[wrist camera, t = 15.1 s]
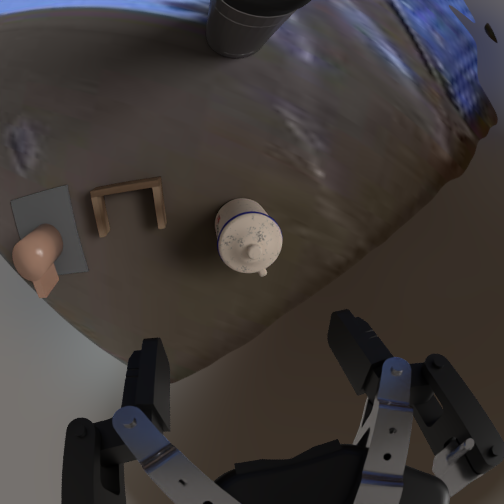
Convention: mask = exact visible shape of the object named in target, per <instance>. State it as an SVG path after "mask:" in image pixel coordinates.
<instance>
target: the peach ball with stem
mask: <svg viewBox="0 0 504 504" xmlns="http://www.w3.org/2000/svg"><path fill="white" fill-rule="evenodd" d="M62 251H63V240H62V237H61V235H60V233H59V231H58V230H57V229H56V228H55V227H54V226H52V225H50V224H41V225H39V226H38V227H37V228H35V229H34V230H33V231H32V232H30V233H29V234H28V235H27V236H25V237H24V238H23V239H22V240H21V241H19V242H18V243H17V244H16V245H15V247H14V249H13V253H12V257H13V262H14V265H15V267H16V269H17V271H18V272H19V274H20V275H21V276H22V277H24V278H25V279H27V280H29V281H33V284H34V286H35V289H36V291H37V294H38V296H39V298H47V296H48V295H49V293H50V292H51V290H52V289H53V288H54V286H55V285H56V283H57V282H58V280H59V277H58V275H57V272H56V269H55V266H54V262H55V261H56V259H57V258H58V257H59V256H60V255H61V253H62Z"/></svg>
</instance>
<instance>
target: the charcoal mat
mask: <svg viewBox="0 0 504 504" xmlns="http://www.w3.org/2000/svg"><path fill="white" fill-rule="evenodd" d="M11 205H12V210H13V214H14V218H15V222H16V226H17V229H18V233H19V236H20V240H22V239H23V238H24V237H25V236H27V235H28V234H29V233H30V232H32V231H33V230H34V229H35V228H37V227H38V226H39V225H41V224H50V225H52V226H54V227H55V228H56V229H57V230H58V231H59V233H60V235H61V237H62V240H63V251H62V253H61V255H60V256H59V257H58V258H57V259H56V261H55V262H54V266H55V269H56V272H57V275H62V274H71V273H79V272H87V271H89V270H88V266H87V263H86V260H85V257H84V253H83V250H82V246H81V243H80V239H79V235H78V232H77V228H76V223H75V219H74V215H73V210H72V206H71V201H70V196H69V191H68V185H64V186H60V187H56V188H53V189H49V190H45V191H42V192H38V193H35V194H31V195H28V196H25V197H22V198H18V199H15V200H12V201H11Z"/></svg>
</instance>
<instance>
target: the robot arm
mask: <svg viewBox="0 0 504 504" xmlns="http://www.w3.org/2000/svg"><path fill="white" fill-rule="evenodd" d="M310 1H311V0H210V6H209V12H208V19H207V26H206V39H207V42H208V44H209V46H210V47H211V48H212V49H213V50H214V51H215V52H217V53H218V54H220V55H223V56H225V57H229V58H244V57H247V56H250V55H252V54H254V53H256V52H257V51H258V50H259V49H260V48H261V47H262V46H263V45H264V44H265V43H266V42H267V41H268V39H269V38H270V37H271V36H272V35H273V34H274V33H275V32H276V31H277V30H278V29H279V27H280V26H281V25H282V24H283V23H284V22H285V21H286V20H287V19H288V18H289V17H290V16H291V15H292V14H293V13H294V12H295V11H296V10H297V9H299V8H301V7H303V6H304V5H306V4H307V3H308V2H310ZM328 343H329V346H330V348H331V349H332V352H333V353H334V355H335V357H336V359H337V360H338V362H339V364H340V366H341V367H342V369H343V371H344V373H345V374H346V376H347V378H348V380H349V381H350V383H351V384H352V387H353V388H354V390H355V392H356V394H357V395H361V394H364V393H366V394H367V396H368V397H367V400H366V403H365V408H364V412H363V416H362V419H361V423H360V427H359V430H358V433H357V435H356V438H355V440H354V442H353V444H340V443H339V441H338V439H336V440H334V441H331V442H327V443H324V444H322V445H318V446H315V447H313V448H311V449H309V450H307V451H305V452H303V453H301V454H300V455H298V456H296V457H294V458H292V459H285V460H267V459H266V460H265V459H262V460H261V459H260V460H255V461H249V462H243V463H235V469H233V470H230V471H228V472H226V473H224V474H223V475H221V476H220V477H218V478H217V479H216V480H215V481H214V482H213V481H212V480H211V479H209V478H208V477H207V476H206V475H205V474H204V473H202V472H201V471H200V470H199V469H198V468H197V467H196V466H195V465H194V464H192V463H191V462H190V461H189V460H188V459H187V458H186V457H185V456H184V455H183V454H182V453H181V452H180V451H179V450H178V449H177V448H176V447H175V446H173V445H172V444H171V443H170V442H169V441H168V440H167V439H166V438H165V437H164V436H163V432H164V431H170V366H169V361H168V358H167V355H166V353H165V350H164V347H163V344H162V341H161V339H160V338H148V339H144V340H143V344H142V350H138V351H134V352H133V354H132V355H131V357H130V358H129V361H128V366H127V373H126V379H125V386H124V392H123V400H122V406H121V408H120V409H119V410H117V411H116V412H115V414H114V416H113V417H112V418H111V419H108V420H104V421H100V422H96V423H92V422H91V421H90V420H88V419H86V418H77V419H74V420H73V421H71V422H70V423H69V425H68V427H67V431H66V438H65V448H64V456H63V470H62V504H126V497H125V486H124V485H125V484H124V466H123V465H124V463H125V462H129V461H133V460H138V461H139V462H140V463H141V465H142V467H143V469H144V470H145V471H146V473H147V474H148V475H149V476H150V477H151V479H152V480H153V481H154V482H155V483H156V484H157V485H158V486H159V487H160V489H161V490H162V491H163V492H164V493H165V494H166V495H167V496H168V497H169V498H170V499H171V500H172V501H173V502H174V503H175V504H449V499H450V497H451V496H453V495H454V494H455V493H457V492H458V491H460V490H461V489H462V488H464V487H465V486H466V485H468V484H469V483H470V482H472V481H474V480H475V479H477V478H478V477H480V476H482V475H483V474H485V473H486V472H488V471H489V470H491V469H492V468H494V467H495V466H497V465H498V464H499V463H501V462H502V460H503V458H504V442H503V440H502V438H501V437H500V435H499V433H498V432H497V430H496V428H495V427H494V425H493V424H492V422H491V420H490V419H489V417H488V416H487V414H486V413H485V411H484V410H483V408H482V407H481V405H480V404H479V402H478V401H477V399H476V398H475V396H474V395H473V394H472V392H471V391H470V389H469V388H468V387H467V385H466V384H465V382H464V381H463V380H462V378H461V377H460V376H459V374H458V373H457V372H456V370H455V369H454V368H453V366H452V365H451V364H450V362H449V361H448V360H447V359H446V358H445V357H444V356H442V355H440V354H431V355H429V356H428V357H427V358H426V360H425V362H424V363H415V364H409V363H408V362H407V361H405V360H404V359H401V358H397V357H393V356H392V354H391V353H390V352H389V350H388V349H387V348H386V346H385V345H384V344H383V342H382V341H381V340H380V338H379V337H377V335H376V333H375V332H374V331H373V330H372V328H371V327H370V326H369V324H368V323H367V322H366V321H364V320H363V319H361V318H359V317H356V318H355V317H354V316H353V315H352V313H351V312H350V311H349V310H348V309H345V310H341V311H336V312H333V313H332V315H331V320H330V325H329V330H328ZM434 393H435V395H436V396H437V398H438V399H439V401H440V402H441V404H442V406H443V409H442V407H441V406H440V404H439V402H438V401H437V399H436V398H435V397H434V395H433V394H434ZM413 416H414V418H415V420H416V421H417V423H418V425H419V427H420V429H421V430H422V432H423V434H424V436H425V438H426V440H427V442H428V443H429V445H430V447H431V449H432V451H433V453H434V455H435V458H434V462H433V465H434V466H433V468H432V471H433V472H434V473H435V476H433V475H431V474H428V473H425V472H422V471H419V470H417V469H414V468H411V467H409V466H406V465H405V463H406V458H407V453H408V447H409V441H410V434H411V426H412V418H413Z"/></svg>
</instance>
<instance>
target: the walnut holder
mask: <svg viewBox="0 0 504 504" xmlns="http://www.w3.org/2000/svg"><path fill="white" fill-rule="evenodd" d="M145 188H152V189H153V196H154V203H155V210H156V216H157V222H158V228H159V229H164V228H165V226H166V223H167V220H166V213H165V206H164V198H163V191H162V182H161V176H160V177H153V178H146V179H140V180H134V181H128V182H122V183H116V184H111V185H106V186H101V187H96V188H95V189H93V190H92V191H90V194H91V199H92V204H93V209H94V214H95V219H96V223H97V228H98V232H99V236H100V237H105V236H106V235H107V234H108V232H109V231H110V226H109V221H108V216H107V211H106V206H105V201H104V195H109V194H115V193H121V192H126V191H133V190H139V189H145Z"/></svg>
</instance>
